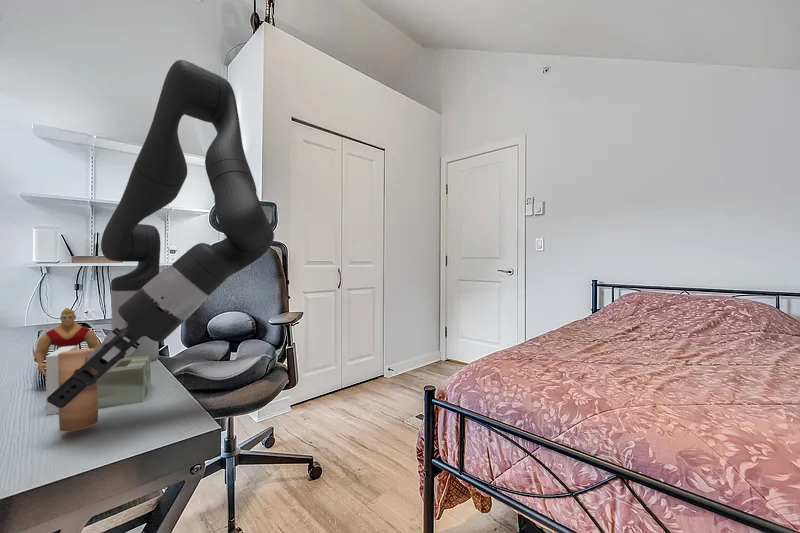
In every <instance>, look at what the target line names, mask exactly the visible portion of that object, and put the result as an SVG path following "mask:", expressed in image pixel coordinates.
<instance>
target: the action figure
mask: <svg viewBox="0 0 800 533" xmlns="http://www.w3.org/2000/svg"><path fill="white" fill-rule="evenodd" d="M59 318H60V319H59V320H60V321H61V323H60V324H58V325H57V326H56V327H54V328H52V329H50V330H48V331H45V333H44V334H43V335H42V336H41V337H39V339H38V342H37V345H36V349H35V350H34V353H33V354H34V358H35V360H36V363H37V364H38V365H37V371H38V372H39V373H40V374H41V375H43V376H46V363H44V361H45V360H46V356H48V353H49V350H50V347H51V346H55V347H58V348H60V347H66V346H76V347H77V346H78V345H79V344H82V343H83V342H86V344H87V347H88V349H95V348H96V347H98V346H99V345H100V344H101V343H99V339H98V336H97V334H96V332H94V331H93V330H92V329H90V328H89V327H86V326H83V325H81V324H79V323H77V322H75V320H77V316H76V313H75V310H72V309H71V308H67V307H65V308H64V309H63V310H62V311H61V313H60V317H59Z"/></svg>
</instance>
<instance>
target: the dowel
mask: <svg viewBox="0 0 800 533" xmlns="http://www.w3.org/2000/svg"><path fill="white" fill-rule="evenodd" d="M93 350H95V349H89V348H81V349H80V348H79V349H78V348H77V349H76V350H71V351H66V352H62V353H59V354H58V384H59V387H60V386H61V385H62V384H63V383H64V382H66V381H67V380H68V379H69V378H70V377H71V375H72V374H73V372H74V371H75V370H76V369H79V368H80V367H81V366H82V365H84V364H85V363H86V362H87V356H88V355H89V354H90V353H91V352H92V351H93ZM96 354H97V353H96ZM85 370H87V371H88V372H90V373H91V374H93V375H96V374H97V370H96V369H94V368H93V367H91V366H88V367H87V368H85ZM96 381H97V380H96ZM58 420H59V421H58V425H59V427H58V428H59V431H60V432H64V433H65V432H73V431H80V430H85V429H87V428H89V427H92V426H94V425H96V424H97V423H98V422H99V409H98V381H97V382H96V383H94V384H92V385H91V386H87V387H86V388H85V389H83V390H82V391H81V392H80V393H79V394H78V395H77V396H76V397H75V398H74V399H73V400H71V401H70V402H69V403H68V404H67V405H66V406H65V407H63V408H59V413H58Z"/></svg>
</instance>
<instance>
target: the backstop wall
mask: <svg viewBox="0 0 800 533" xmlns="http://www.w3.org/2000/svg"><path fill="white" fill-rule="evenodd" d="M71 350H77V346H66V347H58V348H57V349H55V350H53V352H51V353H49V354H47V355H46V357H45V364H46V368H45V372H46V375H45V392H46V393H45V396H46V402H45V403H46V407H45V409H46V416H48V415H54V414H59V408H58V407H56V406H54V405H53V404H51V403H49V402H48V401H47V398H48V397H49V396H50V395H51V394H52V393H53V392H54V391H55V390H57V389H58V387H59V384H58V354H59V353H62V352H66V351H71Z"/></svg>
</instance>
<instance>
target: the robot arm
mask: <svg viewBox="0 0 800 533" xmlns="http://www.w3.org/2000/svg"><path fill="white" fill-rule="evenodd" d="M184 115H186V116H188V117H190V118H192V119H193V118H194V119H197V120H200V121H202V122H206V123H211V124H212V125H213V126H214V129H215V130H216V132H217V133H216V136H215V137H214V138H213V140H212V142H211V143H210V145H209V146H208V147H207V151H206V154H205V158H204V159H205V160H204V166H205V173H206V174H207V178H208V182H209V184H210V187H211V190H212V193H213V196H214V199H213V200H214V207H215V208H214V210H215V215H216V218H217V221H218V225H219V227H220V229H221V231H222V233H223V234H224V235H225V238H224V239H222V240H220V241H219V242H217V243H215V244H214V245H211V244H209V243H205V242H200V243H199V242H198V243H197V244H195V245H193V246H192V247H190V248H189V249H188V250H187V251H186V252H185V253H184V254H182V255H181V256H180V257H179V258H177V260H176V261H174V262H173V263H172V265H169V266H168V267H166V268H165V269H164V270H162V271H161V272H160V265H161V264H160V262H161V261H160V260H161V259H160V258H161V235H160V232H159V230H158V228H157V227H156V226H154V225H151V224H145V223H144V224H143V223H141V222H142V221H143V220H144V219H146V218H147V217H149V216H151V215H153V214H154V213H156V212H158V211H161V210H162V209H163V208H165V207H166V206H168V205H169V204H170V203H171V204H172V202H173V201H174V200H176V198H177V197H178V195H179V193H180V192H181V189H182V187H183V185H184V183H185V181H186V179H187V175H188V165H187V164H188V163H187V161H186V157H185V155H184V152H183V149H182V146H181V142H180V138H179V133H178V130H179V124H180V122H181V120H182V117H183V116H184ZM274 239H275V233H274V229H273V227H272V225H271V223H270V221H269V219H268V217H267V215H266V213H265V211H264V208H263V206H262V204H261V202H260V199H259V197H258V193H257V185H256V183H255V180H254V177H253V173H252V171H251V168H250V166H249V163H248V160H247V157H246V154H245V150H244V145H243V139H242V132H241V125H240V116H239V110H238V104H237V98H236V95H235V92H234V88H233V87H232V84H231V83H230V81H228V79H226V78H224V77H222V76H220V75H219V74H217V73H214V72H212V71H210V70H208V69H205V68H203V67H201V66H199V65H196V64H195V63H193V62H190V61H188V60H185V59H178V60H175V61H174V62H173V63H172V65H171V66H170V67H169V69H168V71H167V73H166V75H165V79H164V82H163V85H162V88H161V90H160V94H159V98H158V101H157V104H156V108H155V112H154V115H153V119H152V122H151V125H150V127H149V130H148V132H147V135H146V138H145V141H144V142H143V144H142V147H141V149H140V151H139V153H138V156H137V157H136V159H135V162H134V164H133V166H132V169H131V172H130V175H129V178H128V181H127V184H126V186H125V189H124V191H123V194H122V197H121V199H120V201H119V203H118V204H117V207H116V208H115V210H114V212H113V213H112V216H111V217H110V218H109V220H108V222H107V223H106V226H105V228H104V231H103V233H102V236H101V241H100V250H101V252H102V255H103V257H104V258H105V259H107V260H109V261H113V262H121V263H122V262H124V263H125V262H127V263H129V262H134V263H135V262H136V263H137V267H136V268H135V269H134V270H132V271H130V272H128V273H126V274H122V275H119V276H116V277H114V278H112V279H111V282H110V290H111V291H110V300H111V302H110V303H111V306H110V307H111V308H110V309H111V331H110V333H109V334H107V335H106V336H105V338H103V340H102V342H101V343H99V344H100V345H99V346H98V347H96V348H95V350H93V351H92V352H91V353H90V354H89V355H88V356H87V362H86V363H85V364H84V365H82V366H81V367H80V368H79V369H76V370H75V371H74V372H73V374H72V375H71V377H70V378H69V379H68V380H67V381H66V382H64V383H63V384H62V385H61V386H60V387H58V389H57V390H55V391H54V392H53V393H52V394H51V395H50V396H49V397H48V398H47V401H48V402H49V403H51V404H53V405H54V406H56V407H58V408H63V407H65V406H66V405H67V404H68V403H69V402H70V401H71V400H73V399H74V398H75V397H76V396H77V395H78V394H79V393H80V392H81V391H82V390H83V389H85V388H86V387H87V386H91V385H92V384H94V383H96V382H97V381H96V380H97V379H99V378H100V377H101V376H102V375H103V374H104V373H105V372H110V371H111V370H112V369H113V368H115V367H116V366H117V365H118V364H119V363H120V362H121V361H122V360H123V359H124V358H127V357H137V356H147V355H150V362H152V361H154V360H155V361H156V360H158V359H159V358H160V357H159V355H160V354H159V352H160V351H159V350H160V349H159V343H160V342H161V343H162V342H164V341H165V340H166V339H167V338H169V336H171V335H172V333H174V331H175V330H176V329H177V328H179V327H180V326H181V325H182V324H183V323H184V322H185V321H186V320H187V319H189V317H190V316H191V315H192V314H194V312H195V311H196V310H198V309H199V307H201V306H202V304H203V303H204V302H205V300H206V299H208V298H209V296H210V295H212V293H213V292H215V291H216V290H217V289H218V288H219V286H221V285H222V284H224V282H225V281H226V280H227V279H228V278H229V277H231V276H232V275H234V274H236V273H238V272H240V271H242V270H243V269H245V268H246V267H248V266H250V265H251V264H252V263H255V261H257V260H259V259H260V258H262V257H263V256H264V255H265V254H266V253H267V252H268V251H269V249H270V248H271V246H272V244H273V242H274ZM96 353H97V354H96ZM88 366H91V367H93V368H94V369H96V370H97V374H96V375H93V374H91V373H90V372H88V371H87V370H85V368H87V367H88Z"/></svg>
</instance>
